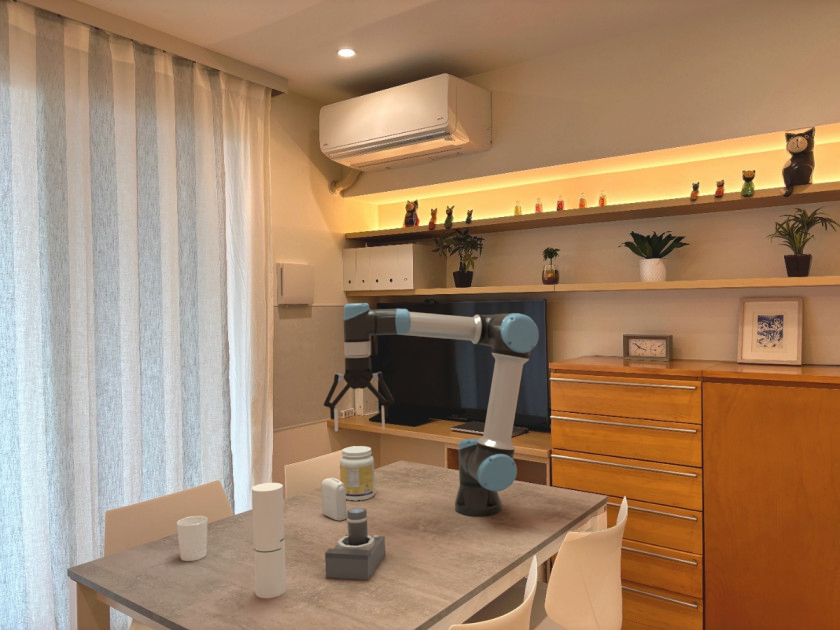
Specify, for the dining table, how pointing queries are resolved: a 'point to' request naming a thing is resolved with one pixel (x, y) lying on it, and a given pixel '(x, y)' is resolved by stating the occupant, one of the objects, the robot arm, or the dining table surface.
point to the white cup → (192, 537)
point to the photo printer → (334, 499)
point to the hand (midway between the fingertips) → (360, 429)
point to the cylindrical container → (269, 540)
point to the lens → (357, 526)
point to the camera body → (354, 558)
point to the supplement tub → (357, 472)
